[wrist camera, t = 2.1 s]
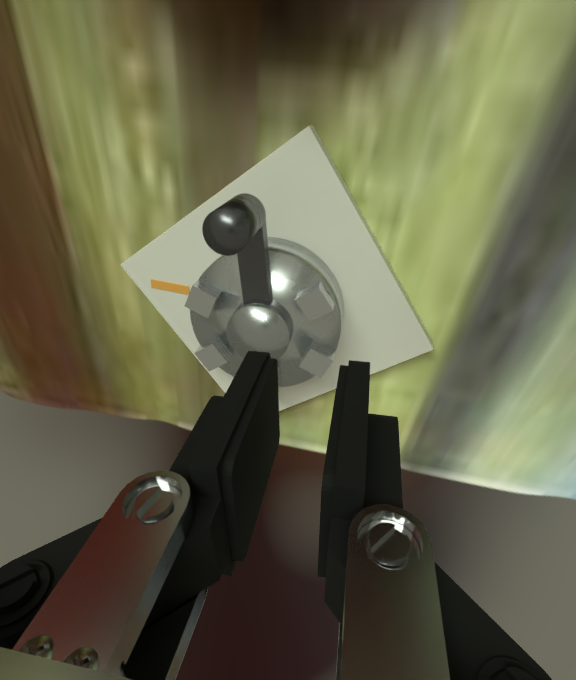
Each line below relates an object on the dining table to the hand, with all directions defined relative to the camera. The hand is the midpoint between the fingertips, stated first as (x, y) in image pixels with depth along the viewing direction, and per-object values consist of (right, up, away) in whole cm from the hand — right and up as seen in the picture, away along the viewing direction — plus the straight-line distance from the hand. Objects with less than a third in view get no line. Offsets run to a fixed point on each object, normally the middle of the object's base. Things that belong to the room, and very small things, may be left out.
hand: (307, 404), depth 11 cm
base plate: (-1, +5, +22) cm, 23 cm away
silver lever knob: (-2, +6, +20) cm, 21 cm away
